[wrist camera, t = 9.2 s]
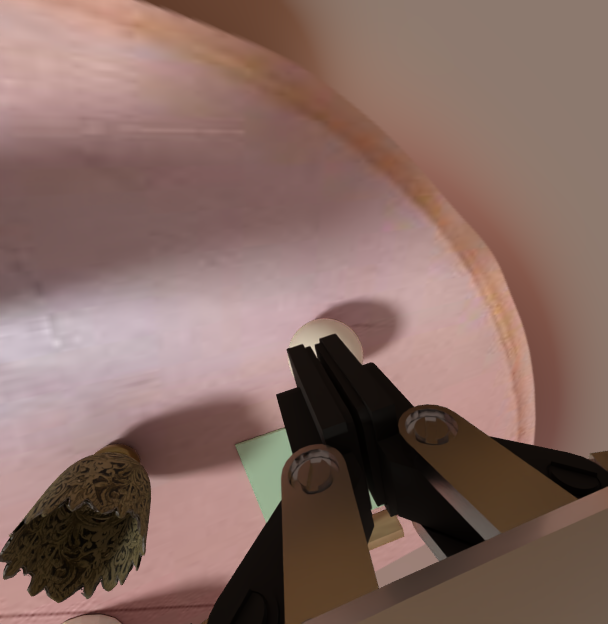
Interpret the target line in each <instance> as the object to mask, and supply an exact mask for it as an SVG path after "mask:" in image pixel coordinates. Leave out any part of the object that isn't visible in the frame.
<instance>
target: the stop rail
mask: <svg viewBox="0 0 608 624" xmlns="http://www.w3.org/2000/svg"><path fill="white" fill-rule="evenodd" d="M372 517H373V522H374V529H373V531H372V534H371V537H370V540H369V542H368V548H369V550H372V549H374V548H377V547H379V546H382V545H384V544H387V543H389V542H392V541H394V540H397V539H399V538H402V537H404V532H403V528H402V526H401V524H400V522H399V520H398V519H397V517H396V515H395V516H393V517H390V515H389V513H388V511H387V509H386V510H384V511H381V512H379V513H376V514H374V515H372Z"/></svg>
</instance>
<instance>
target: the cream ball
mask: <svg viewBox="0 0 608 624" xmlns="http://www.w3.org/2000/svg"><path fill="white" fill-rule="evenodd" d="M332 334H337V336H338V337H339V338H340V339H341V340H342V342H343V343H344V344H345V345H346V346H347V348H348V349H349V350H350V351H351V352H352V354H353V355H354V356H355V357H356V358H357V359H358V361H359V362H360V363H361V364H363V349H362V345H361V343H360V340H359V338H358V337H357V335H356V334H355V333H354V331H353V330H352V329H351V328H350V327H348V326H347V325H346V324H344V323H342V322H340V321H337V320H334V319H327V318H324V319H316V320H313V321H310V322H308V323H306V324H305V325H303V326H302V327H301V328H300V329H299V330H298V331H297V332H296V333H295V334H294V336H293V338H292V340H291V342H290V345H289V348H291V347H294V346H297V345H300V344H303V345H304V347H308V346H311V348H312V350H313V351H314V353H315V355H316V356H317V354H316V350H315V344H318V343H320V342H319V338H322V337H325V336H329V335H332ZM288 364H289V368H290V370H291V373H292V375H293V376H294V374H293V371H292V367H291V364H290V360H289V356H288Z"/></svg>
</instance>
